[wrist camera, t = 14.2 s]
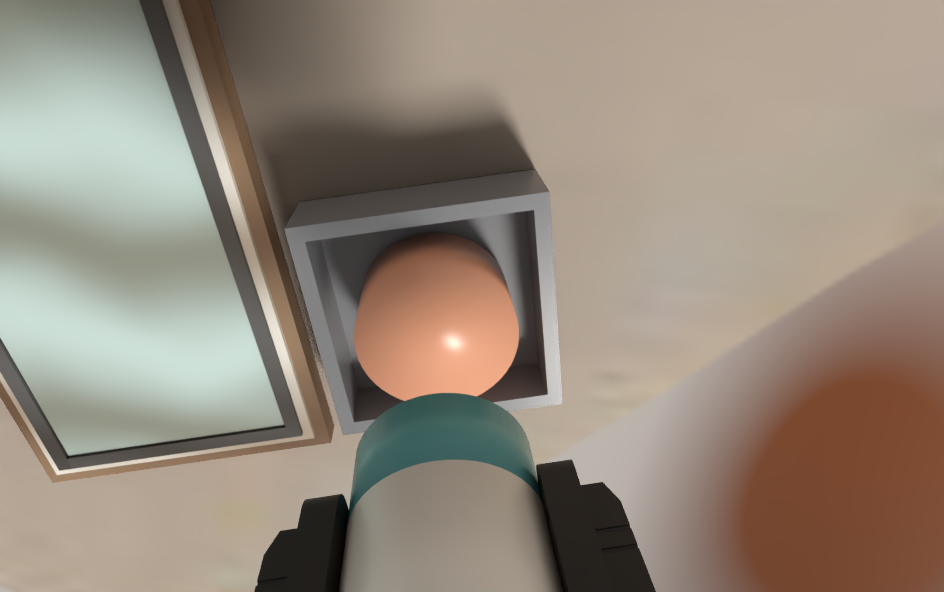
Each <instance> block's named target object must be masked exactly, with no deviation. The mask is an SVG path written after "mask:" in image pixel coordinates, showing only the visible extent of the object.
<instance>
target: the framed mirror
mask: <svg viewBox="0 0 944 592" xmlns="http://www.w3.org/2000/svg"><path fill="white" fill-rule="evenodd" d="M0 397H1V399H2V401H3V402H4V404H5V405H6V407H7V409H8V410H9V412H10V414H11V415H12V417H13V419H14V420H15V422H16V423H17V425H18V427H19V428H20V430H21V432H22V433H23V435H24V436H25V438H26V440H27V441H28V443H29V445H30V446H31V448H32V450H33V451H34V453H35V454H36V456H37V458H38V459H39V461H40V463H41V464H42V466H43V468H44V469H45V471H46V472H47V474H48V476H49V477H50V479H51V481H52V482H60V481H67V480H74V479H81V478H88V477H95V476H102V475H109V474H116V473H123V472H130V471H137V470H144V469H151V468H158V467H165V466H172V465H179V464H186V463H193V462H200V461H207V460H213V459H220V458H227V457H234V456H241V455H248V454H255V453H262V452H269V451H276V450H283V449H290V448H297V447H304V446H311V445H318V444H325V443H331V439H332V434H333V429H334V424H333V421H332V417H331V414H330V410H329V407H328V404H327V400H326V397H325V393H324V390H323V386H322V383H321V380H320V376H319V373H318V369H317V366H316V362H315V359H314V356H313V352H312V349H311V345H310V342H309V339H308V335H307V332H306V328H305V325H304V321H303V318H302V315H301V311H300V308H299V304H298V301H297V298H296V294H295V291H294V287H293V284H292V280H291V277H290V274H289V270H288V267H287V263H286V260H285V257H284V253H283V250H282V246H281V243H280V239H279V236H278V233H277V229H276V226H275V222H274V219H273V215H272V212H271V209H270V205H269V202H268V198H267V195H266V192H265V188H264V185H263V181H262V178H261V174H260V171H259V168H258V164H257V161H256V157H255V154H254V151H253V147H252V144H251V140H250V137H249V133H248V130H247V127H246V123H245V120H244V116H243V113H242V110H241V106H240V103H239V99H238V96H237V92H236V89H235V86H234V82H233V79H232V75H231V72H230V68H229V65H228V62H227V58H226V55H225V51H224V48H223V45H222V41H221V38H220V34H219V31H218V27H217V24H216V21H215V17H214V14H213V10H212V7H211V4H210V0H0Z"/></svg>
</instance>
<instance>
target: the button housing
mask: <svg viewBox="0 0 944 592" xmlns="http://www.w3.org/2000/svg"><path fill="white" fill-rule="evenodd" d="M284 230H285V234H286V237H287V241H288V244H289V248H290V251H291V255H292V258H293V262H294V265H295V269H296V272H297V276H298V279H299V283H300V286H301V290H302V293H303V297H304V300H305V304H306V307H307V311H308V314H309V318H310V321H311V325H312V328H313V332H314V335H315V339H316V342H317V346H318V349H319V353H320V356H321V360H322V363H323V367H324V370H325V374H326V377H327V381H328V384H329V388H330V391H331V395H332V398H333V402H334V405H335V409H336V412H337V416H338V419H339V423H340V426H341V430H342V433H343V435H348V434H355V433H362V432H365V431H366V430H367V429H368V427H369V426H370V425H371V424H372V423H373V422H374V421H375V420H376V419H377V418H378V417H379V416H380V415H382V414H383V413H384V412H385V411H387V410H389V409H390V408H392V407H394V406H395V405H397V404H399V403H402V402H404V401H403V400H400V399H398V398H396V397H394V396H392V395H390V394H388V393H387V392H385V391H384V390H382V389H381V388H380V387H379V386H377V385H376V384H375V383H374V382H373V381H372V380H371V379H370V378H369V377H368V375H367V374H366V372H365V371H364V370H363V368H362V366H361V364H360V362H359V360H358V357H357V354H356V351H355V345H354V329H355V322H356V317H357V312H358V307H359V302H360V297H361V292H362V287H363V284H364V280H365V277H366V275H367V273H368V271H369V269H370V267H371V266H372V264H373V263H374V261H375V260H376V259H377V258H378V257H379V256H380V255H381V254H382V253H383V252H384V251H385V250H386V249H388V248H389V247H391V246H392V245H394V244H395V243H397V242H399V241H401V240H403V239H406V238H408V237H411V236H415V235H419V234H425V233H446V234H452V235H457V236H460V237H463V238H466V239H468V240H470V241H473V242H474V243H476V244H478V245H479V246H481V247H482V248H483V249H485V250H486V251H487V252H488V253H489V254H490V255H491V256H492V257H493V258H494V259H495V260H496V262H497V263H498V265H499V266H500V268H501V270H502V272H503V274H504V276H505V279H506V282H507V285H508V289H509V292H510V296H511V299H512V303H513V306H514V310H515V313H516V317H517V321H518V327H519V341H518V348H517V351H516V355H515V357H514V359H513V362H512V364H511V365H510V367H509V369H508V370H507V372H506V373H505V374H504V375H503V377H502V378H501V379H500V380H499V381H498V382H497V383H496V384H495V385H494V386H492V387H491V388H490V389H488V390H487V391H485V392H484V393H482V394H480V395H479V396H477V397H480V398H483V399H486V400H488V401H491V402H493V403H495V404H497V405H499V406H500V407H502V408H503V409H505V410H506V411H515V410H522V409H529V408H536V407H543V406H550V405H557V404H562V389H561V373H560V356H559V340H558V324H557V307H556V291H555V274H554V258H553V241H552V225H551V209H550V192H549V190H548V189H547V187H546V185H545V184H544V182H543V181H542V179H541V177H540V176H539V174H538V173H537V171H536V169H534V170H527V171H519V172H512V173H505V174H498V175H491V176H483V177H476V178H469V179H462V180H455V181H447V182H440V183H433V184H426V185H419V186H411V187H404V188H397V189H390V190H383V191H376V192H368V193H361V194H354V195H347V196H340V197H332V198H325V199H318V200H311V201H304V202H299V204H298V205H297V207H296V209H295V211H294V212H293V214H292V216H291V218H290V219H289V221H288V223H287V225H286V226H285V228H284Z"/></svg>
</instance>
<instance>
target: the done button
mask: <svg viewBox="0 0 944 592" xmlns="http://www.w3.org/2000/svg"><path fill="white" fill-rule="evenodd" d="M518 341H519V327H518V321H517V317H516V313H515V310H514V306H513V303H512V299H511V296H510V292H509V289H508V285H507V282H506V279H505V276H504V274H503V272H502V270H501V268H500V266H499V265H498V263H497V262H496V260H495V259H494V258H493V257H492V256H491V255H490V254H489V253H488V252H487V251H486V250H485V249H483V248H482V247H481V246H479V245H478V244H476V243H474V242H473V241H470V240H468V239H466V238H463V237H460V236H457V235H452V234H446V233H425V234H419V235H415V236H411V237H408V238H406V239H403V240H401V241H399V242H397V243H395V244H394V245H392V246H391V247H389V248H388V249H386V250H385V251H384V252H383V253H382V254H381V255H380V256H379V257H378V258H377V259H376V260H375V261H374V263H373V264H372V266H371V267H370V269H369V271H368V273H367V275H366V277H365V280H364V284H363V287H362V292H361V297H360V302H359V307H358V312H357V317H356V322H355V329H354V345H355V351H356V354H357V357H358V360H359V362H360V364H361V366H362V368H363V370H364V371H365V372H366V374H367V375H368V377H369V378H370V379H371V380H372V381H373V382H374V383H375V384H376V385H377V386H379V387H380V388H381V389H382V390H384V391H385V392H387V393H388V394H390V395H392V396H394V397H396V398H398V399H400V400H403V401H406V400H409V399H412V398H415V397H418V396H423V395H428V394H436V393H460V394H468V395H472V396H476V397H477V396H479V395H480V394H482V393H484V392H485V391H487V390H488V389H490V388H491V387H492V386H494V385H495V384H496V383H497V382H498V381H499V380H500V379H501V378H502V377H503V375H504V374H505V373H506V372H507V370H508V369H509V367H510V365H511V364H512V362H513V359H514V357H515V355H516V351H517V348H518Z"/></svg>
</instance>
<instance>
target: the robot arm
mask: <svg viewBox="0 0 944 592" xmlns="http://www.w3.org/2000/svg"><path fill="white" fill-rule="evenodd" d="M536 470H537V481H538V486H539V491H540V495H541V499H542V503H543V507H544V511H545V515H546V520H547V524H548V528H549V532H550V536H551V540H552V545H553V549H554V553H555V557H556V561H557V565H558V570H559V574H560V578H561V582H562V586H563V590H564V592H656V591H655V588H654V586H653V583H652V581H651V578H650V575H649V573H648V570H647V568H646V565H645V563H644V560H643V557H642V555H641V552H640V550H639V548H638V546H637V542H636V540H635V537H634V534H633V532H632V529H631V528H630V524H629V521H628V519H627V516H626V514H625V511H624V509H623V506H622V503H621V501H620V500H619V499H618V498H617V497H616V496H615V495H614V494H613V493H612V492H611V490H610V489H609V488H608V487H607V486H606V485H605V484H603V482H600V483H593V484H587V485H580V482H579V479H578V476H577V473H576V469H575V467H574V464H573V461H572V460H565V461H558V462H552V463H545V464H538V465H536ZM348 515H349V509H348V506H347V503H346V500H345V498H344V496H343V495H342V494H339V495H332V496H326V497H319V498H313V499H306V500H305V501H304V502H303V505H302V509H301V514H300V518H299V523H298V528H297V529H290V530H284V531H280V532H279V534H278V535H277V537H276V538H275V540H274V541H273V542H272V544H271V545H270V547H269V548H268V550H267V551H266V553H265V554H264V557H263V561H262V565H261V569H260V572H259V576H258V580H257V582H258V585H257V586H256V588H255V592H339V586H340V579H341V571H342V563H343V555H344V547H345V539H346V531H347V523H348Z"/></svg>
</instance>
